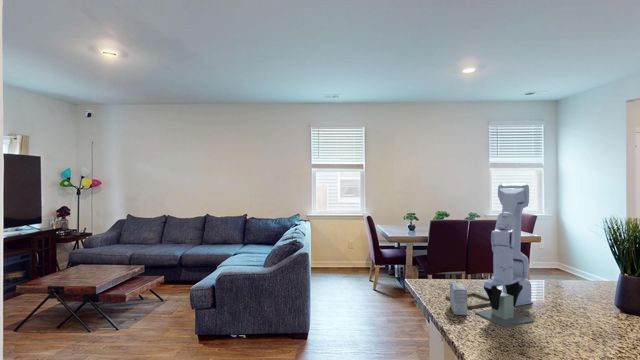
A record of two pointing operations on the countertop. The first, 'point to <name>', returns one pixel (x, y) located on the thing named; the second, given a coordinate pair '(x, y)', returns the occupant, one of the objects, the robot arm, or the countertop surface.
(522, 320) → the rubber mat
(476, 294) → the holder frame
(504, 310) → the sage block
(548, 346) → the countertop surface
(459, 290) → the medicine box
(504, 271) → the robot arm
